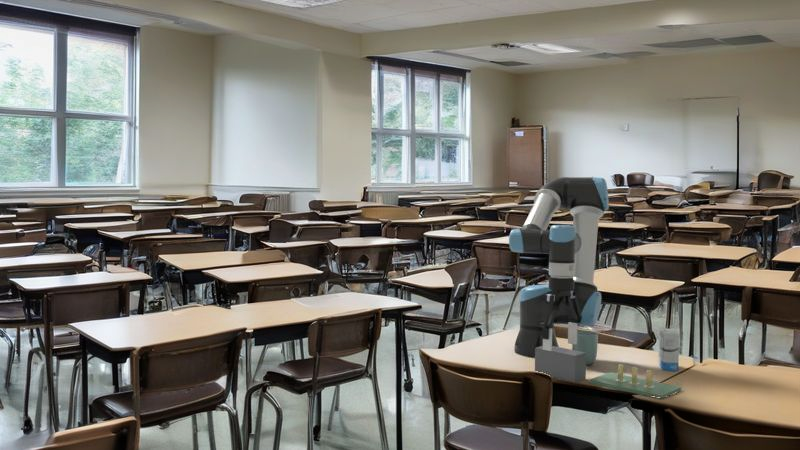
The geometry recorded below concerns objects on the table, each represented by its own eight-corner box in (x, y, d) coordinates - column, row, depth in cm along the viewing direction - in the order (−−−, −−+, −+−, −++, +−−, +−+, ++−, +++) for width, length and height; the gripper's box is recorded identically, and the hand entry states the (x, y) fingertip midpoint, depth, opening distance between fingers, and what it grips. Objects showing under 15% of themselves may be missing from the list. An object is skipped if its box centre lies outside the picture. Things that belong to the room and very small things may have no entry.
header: (589, 382, 207) (589, 364, 207) (610, 375, 216) (610, 357, 216) (661, 399, 192) (662, 379, 192) (681, 390, 200) (681, 371, 200)
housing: (534, 373, 218) (535, 347, 217) (545, 370, 222) (546, 344, 221) (574, 382, 208) (575, 355, 207) (585, 378, 212) (586, 352, 211)
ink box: (678, 371, 221) (679, 334, 220) (662, 370, 222) (663, 333, 221) (673, 364, 229) (674, 328, 229) (657, 364, 230) (658, 328, 230)
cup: (601, 363, 230) (601, 333, 230) (589, 368, 225) (590, 336, 224) (579, 359, 236) (580, 329, 235) (567, 363, 230) (568, 333, 229)
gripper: (548, 280, 202) (547, 354, 202) (594, 274, 219) (592, 343, 220) (526, 278, 207) (525, 350, 208) (573, 272, 224) (571, 339, 225)
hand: (560, 347), depth 214 cm, fingers open, 13 cm apart
